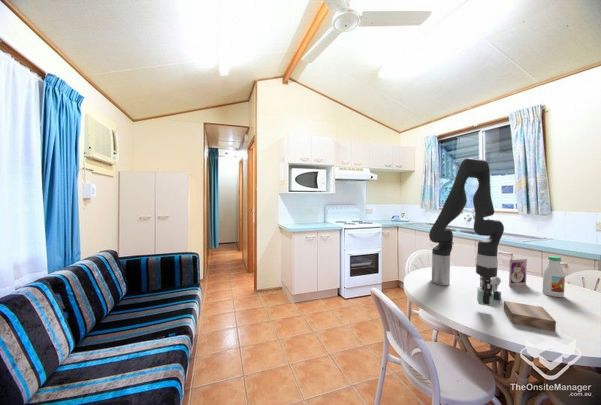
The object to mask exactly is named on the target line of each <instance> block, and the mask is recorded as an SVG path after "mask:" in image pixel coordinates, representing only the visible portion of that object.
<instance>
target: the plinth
mask: <svg viewBox="0 0 601 405" xmlns="http://www.w3.org/2000/svg"><path fill="white" fill-rule="evenodd" d="M503 310H504V312H505V314H506V316H507V317H508V319H509V321H510V322H511V324H515V325H521V326H526V327H529V328H530V327H531V328H537V329H540V328H541V329H540V330H545V329H547V331H551V330H553V331H552V332H556V329H557V328H556V327H557V325H556V324H557V321H556V320H555V319H554V318H553V316H552V315H551V314H550V313H549V312H548V311H547V310H546V309H545V308H544V307H543V306H539V305H532V304H526V303H519V302H514V301H507V300H503Z"/></svg>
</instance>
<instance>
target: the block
mask: <svg viewBox="0 0 601 405" xmlns="http://www.w3.org/2000/svg"><path fill="white" fill-rule="evenodd" d="M486 293H489V292H486ZM476 294H477V295H476V300H477V303H478V305H482V306H487V307H491V308H492V307H494V299H493V295H494V293H493V292H492V294H491V295H492V296H491V297H490V301H489V305H488V304H484V303H483V290H482V288H481V287H480V286H479V287H478V286H477V293H476Z"/></svg>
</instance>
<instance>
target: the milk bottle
mask: <svg viewBox="0 0 601 405" xmlns="http://www.w3.org/2000/svg"><path fill="white" fill-rule="evenodd" d="M547 260H548V263H547V264H546V266H545V267H544V270H543V275H542V277H543V278H542V293H543V294H545V295H546V296H550V297H553V298H564V296H565V282H566V281H565V270H564V269H563V267H562V265H561V263H562V257H560V256H555V255H549V256H548V259H547Z"/></svg>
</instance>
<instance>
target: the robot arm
mask: <svg viewBox="0 0 601 405" xmlns="http://www.w3.org/2000/svg"><path fill="white" fill-rule="evenodd" d="M490 172H491V171H490V165H489V163H488V161H486V160H485V159H478V158H469V157H467V158H464V160H462V162H461V163H460V165H459V168H458V170H457V173H456V175H455V177H454V178H455V179H454V181H453V185H451V186H452V187H451V189H450V192H449V193H448V195H447V197H446V200H445V202H444V204H443V206H442V209H441V210H440V212H439V215H438V217H437V218H436V220H435V221H434V223H433V225H432V226H431V228H430V229H429V233H428V236H429V240H430V241H431V242H432V243H435V244H437V245H436V246H435V247H433V248H432V250H431V251H432V252H431V284H436V285H437V286H449V285H450V283H451V282H450V280H451V278H450V277H451V275H450V274H451V252H452V250H453V241H454V234H453V230H452V229H451V228H450V227H448V226H449V225H450V224H451V223H452V222H453V221H454V220H455V219H456V218H458V217H459V216H460V215H461V214H462V212H463V210H464V208H465V207H466V205H467V201H468V198H467V193H466V189H465V188H466V187H465V186H466V183H467V180H468V178H470V179H473V178H474V179H476V180H477V182H478V186H477V188H476V190H475V191H474V192H475V193H474V194H473V198H472V203H473V208H474V223H473V231H474V233H475V234H476V235H477V236H481V237H482V236H488V238H487V239H484V240H479V241H478V242H477V250H476V251H477V252H476V253H477V254H476V260H475V261H476V263H475V273H476V274H477V275H478V276H479V287H480V288H482V290H483V303H484V304H488V305H489V301H490V297H491V296H492V295H491V294H492V286H493V285H492V280H491V279H490V278H491V277H496V276H497V277H498V262H499V261H498V259H499V258H498V247H499V244H500V241H501V239H502V237H503V234H504V231H505V226H504V224H503V222H502V221H500V220H498V219H485V218H487V217H492V216H493V215H494V214H495V209H494V204H493V200H492V195H491V174H490ZM486 292H489V293H486Z"/></svg>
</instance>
